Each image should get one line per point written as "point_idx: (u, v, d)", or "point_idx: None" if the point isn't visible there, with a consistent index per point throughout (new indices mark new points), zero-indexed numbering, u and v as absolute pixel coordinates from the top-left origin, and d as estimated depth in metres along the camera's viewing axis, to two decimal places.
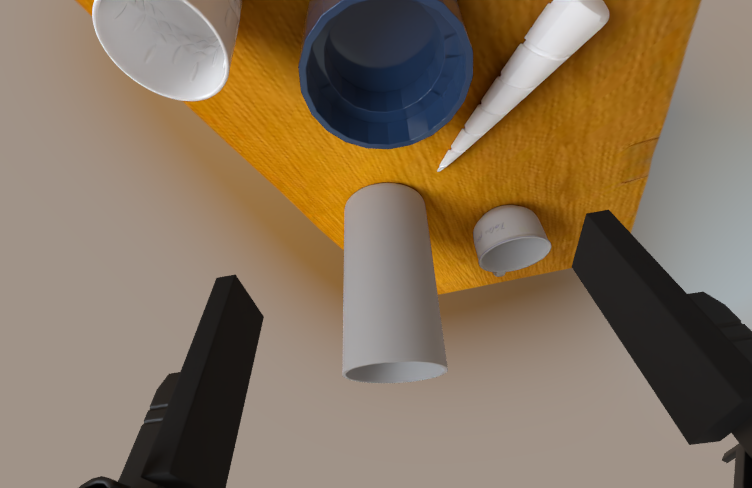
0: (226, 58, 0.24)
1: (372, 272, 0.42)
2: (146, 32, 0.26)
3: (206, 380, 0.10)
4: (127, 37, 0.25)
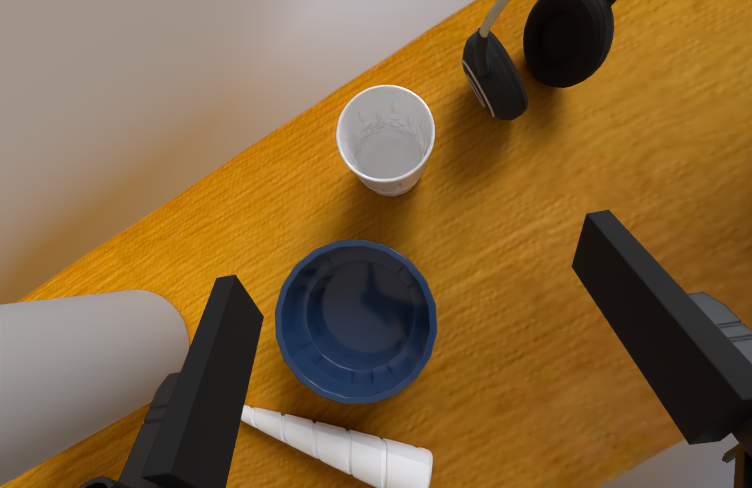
0: (382, 181, 0.28)
1: (59, 352, 0.25)
2: (371, 118, 0.32)
3: (206, 380, 0.10)
4: (376, 104, 0.30)
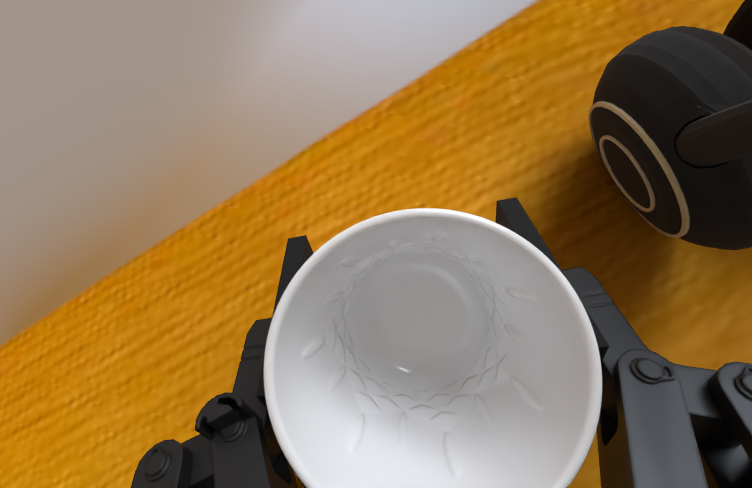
0: None
1: None
2: (376, 251, 0.13)
3: None
4: (392, 237, 0.11)
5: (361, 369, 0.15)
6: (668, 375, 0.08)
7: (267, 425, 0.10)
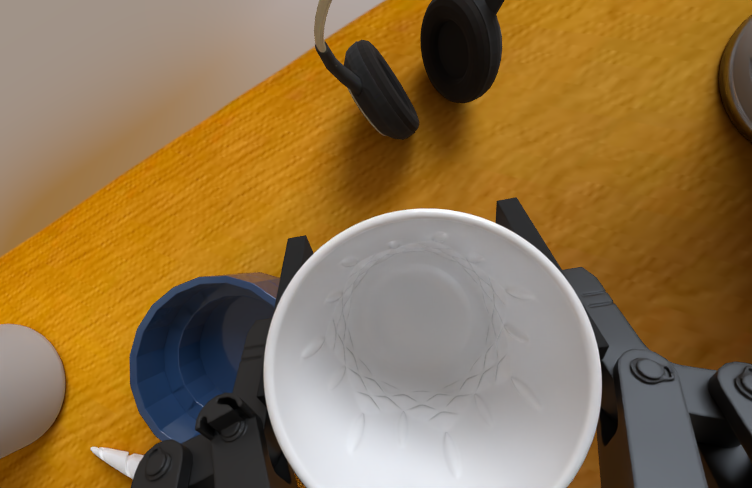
0: None
1: None
2: (376, 251, 0.13)
3: None
4: (392, 237, 0.11)
5: (361, 369, 0.15)
6: (668, 375, 0.08)
7: (267, 425, 0.10)
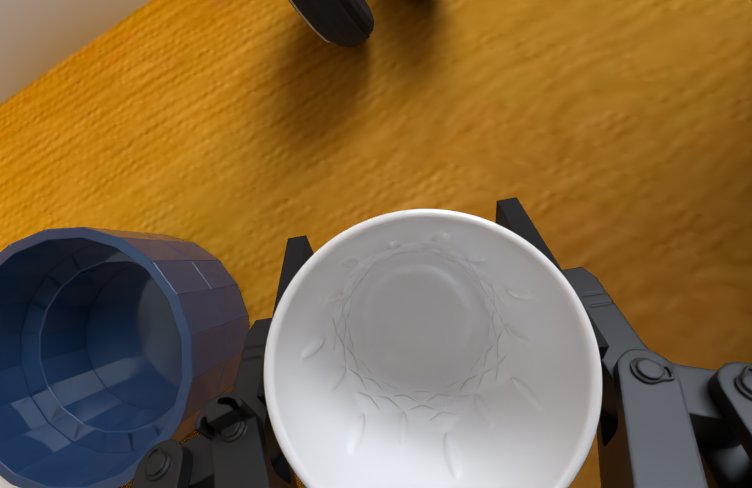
0: None
1: None
2: (376, 251, 0.13)
3: None
4: (392, 237, 0.11)
5: (361, 369, 0.15)
6: (668, 375, 0.08)
7: (267, 425, 0.10)
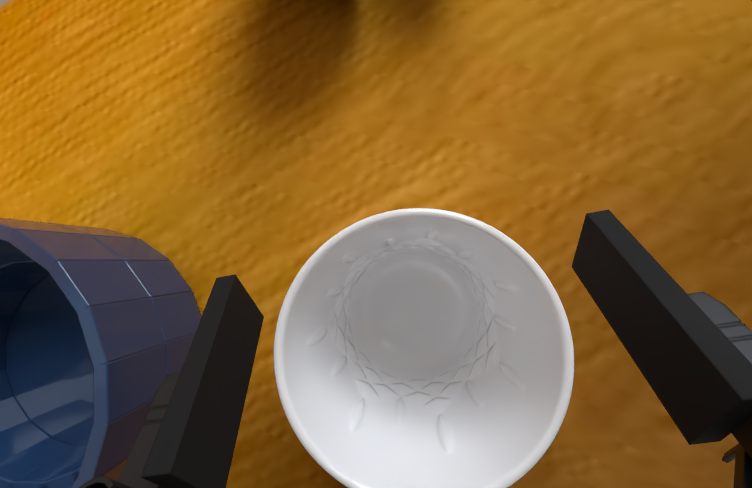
0: None
1: None
2: (374, 248, 0.14)
3: (206, 380, 0.10)
4: (388, 234, 0.12)
5: (361, 359, 0.16)
6: None
7: None
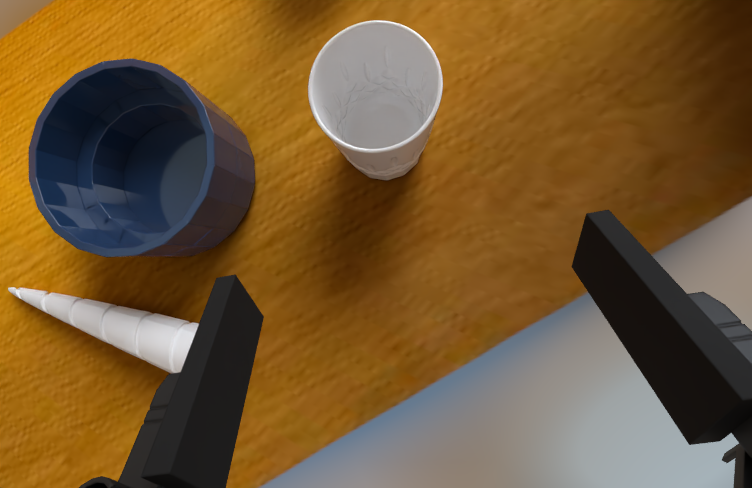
0: (371, 150, 0.20)
1: None
2: (358, 76, 0.25)
3: (206, 380, 0.10)
4: (363, 53, 0.23)
5: None
6: None
7: None
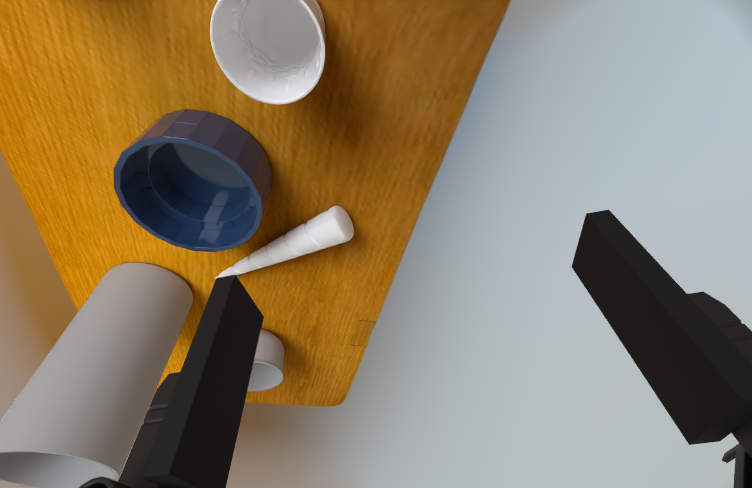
0: (310, 89, 0.27)
1: (93, 348, 0.40)
2: (234, 19, 0.27)
3: (206, 380, 0.10)
4: (227, 12, 0.25)
5: (285, 68, 0.32)
6: None
7: None
